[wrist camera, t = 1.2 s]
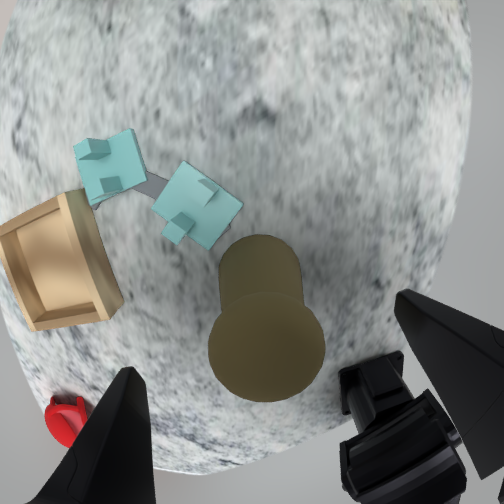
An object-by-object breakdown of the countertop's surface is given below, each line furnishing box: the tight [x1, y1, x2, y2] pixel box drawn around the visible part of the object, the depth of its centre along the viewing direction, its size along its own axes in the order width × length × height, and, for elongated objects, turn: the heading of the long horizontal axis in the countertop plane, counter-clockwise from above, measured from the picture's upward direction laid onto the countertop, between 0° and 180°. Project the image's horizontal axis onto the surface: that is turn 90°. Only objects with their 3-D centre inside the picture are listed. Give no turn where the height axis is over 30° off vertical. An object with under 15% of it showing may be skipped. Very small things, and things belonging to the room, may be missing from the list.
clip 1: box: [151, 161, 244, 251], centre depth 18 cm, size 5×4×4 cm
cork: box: [208, 235, 325, 402], centre depth 16 cm, size 6×6×11 cm
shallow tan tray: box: [0, 188, 124, 332], centre depth 19 cm, size 10×10×3 cm
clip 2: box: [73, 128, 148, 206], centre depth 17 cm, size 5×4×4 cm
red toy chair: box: [45, 396, 88, 448], centre depth 24 cm, size 8×6×6 cm
